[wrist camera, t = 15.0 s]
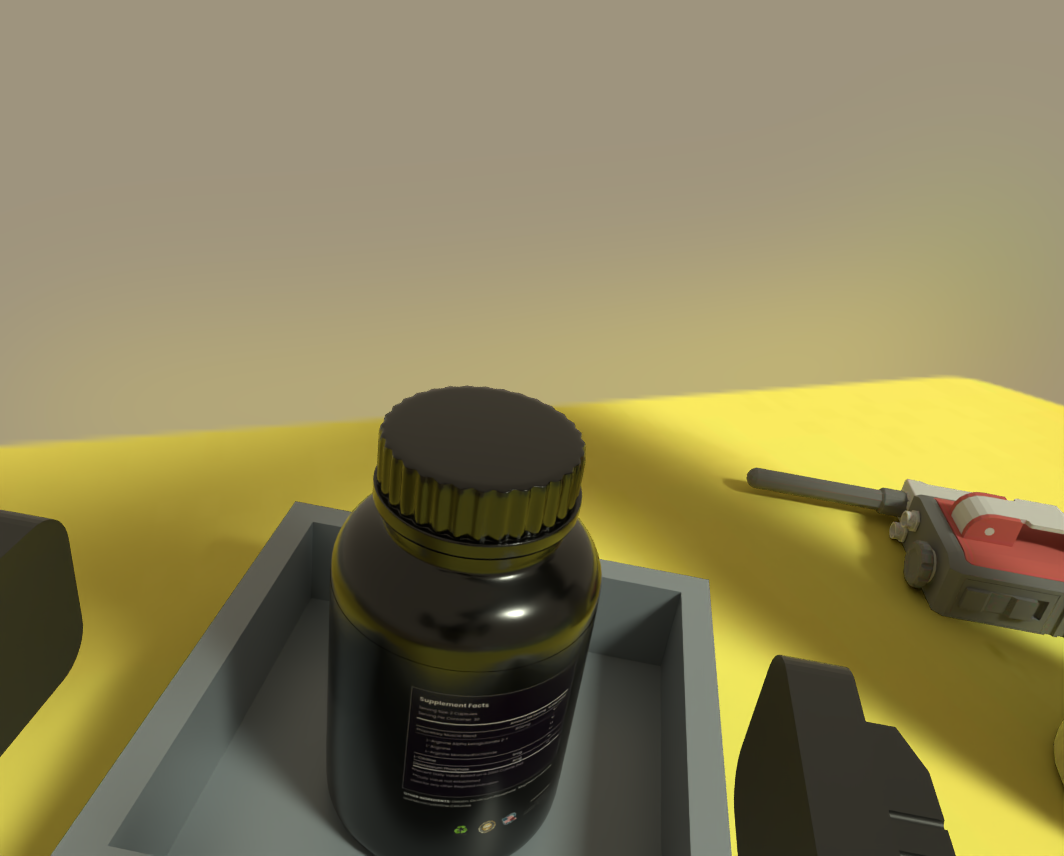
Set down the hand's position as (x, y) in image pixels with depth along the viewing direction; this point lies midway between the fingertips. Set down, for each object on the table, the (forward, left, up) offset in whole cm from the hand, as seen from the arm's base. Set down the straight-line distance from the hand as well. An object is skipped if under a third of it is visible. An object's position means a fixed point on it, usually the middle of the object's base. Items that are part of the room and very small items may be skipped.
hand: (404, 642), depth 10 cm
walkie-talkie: (-20, -29, -16) cm, 39 cm away
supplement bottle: (+1, -11, -15) cm, 18 cm away
